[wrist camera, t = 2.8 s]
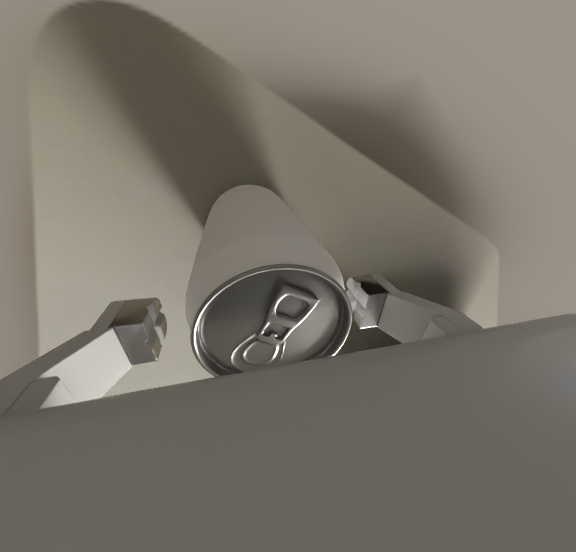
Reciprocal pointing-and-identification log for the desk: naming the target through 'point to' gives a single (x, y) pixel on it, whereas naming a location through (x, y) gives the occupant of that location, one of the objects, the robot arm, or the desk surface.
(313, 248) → the can
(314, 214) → the desk surface
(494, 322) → the desk surface
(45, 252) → the desk surface
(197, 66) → the desk surface
